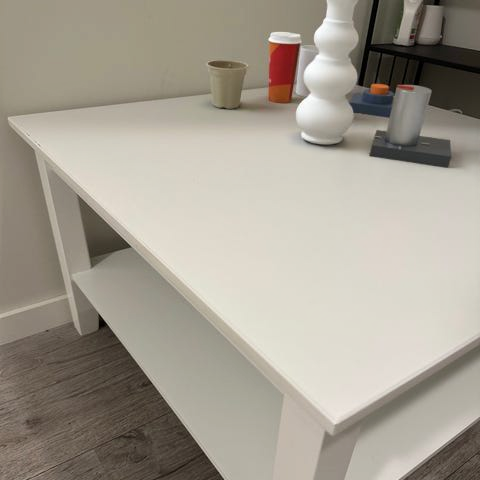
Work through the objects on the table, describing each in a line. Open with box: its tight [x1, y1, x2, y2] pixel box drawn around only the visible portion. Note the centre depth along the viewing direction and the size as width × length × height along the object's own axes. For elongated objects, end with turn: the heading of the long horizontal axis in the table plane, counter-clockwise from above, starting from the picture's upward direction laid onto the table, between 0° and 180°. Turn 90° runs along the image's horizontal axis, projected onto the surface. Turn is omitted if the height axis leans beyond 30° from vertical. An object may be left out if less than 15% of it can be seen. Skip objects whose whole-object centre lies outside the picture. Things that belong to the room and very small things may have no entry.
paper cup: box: [267, 31, 303, 104], centre depth 113 cm, size 8×8×14 cm
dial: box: [385, 84, 433, 146], centre depth 87 cm, size 6×6×9 cm
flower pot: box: [205, 59, 250, 110], centre depth 108 cm, size 9×9×9 cm
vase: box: [295, 0, 360, 146], centre depth 87 cm, size 11×11×25 cm
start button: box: [370, 83, 390, 95], centre depth 111 cm, size 4×4×2 cm
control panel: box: [369, 129, 453, 168], centre depth 90 cm, size 14×10×2 cm
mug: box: [295, 44, 319, 98], centre depth 120 cm, size 12×8×10 cm, turn 86°
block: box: [348, 88, 395, 119], centre depth 113 cm, size 12×10×4 cm
